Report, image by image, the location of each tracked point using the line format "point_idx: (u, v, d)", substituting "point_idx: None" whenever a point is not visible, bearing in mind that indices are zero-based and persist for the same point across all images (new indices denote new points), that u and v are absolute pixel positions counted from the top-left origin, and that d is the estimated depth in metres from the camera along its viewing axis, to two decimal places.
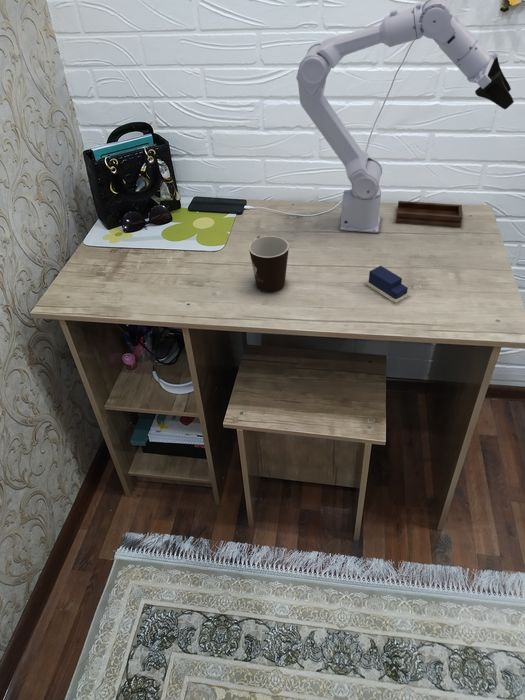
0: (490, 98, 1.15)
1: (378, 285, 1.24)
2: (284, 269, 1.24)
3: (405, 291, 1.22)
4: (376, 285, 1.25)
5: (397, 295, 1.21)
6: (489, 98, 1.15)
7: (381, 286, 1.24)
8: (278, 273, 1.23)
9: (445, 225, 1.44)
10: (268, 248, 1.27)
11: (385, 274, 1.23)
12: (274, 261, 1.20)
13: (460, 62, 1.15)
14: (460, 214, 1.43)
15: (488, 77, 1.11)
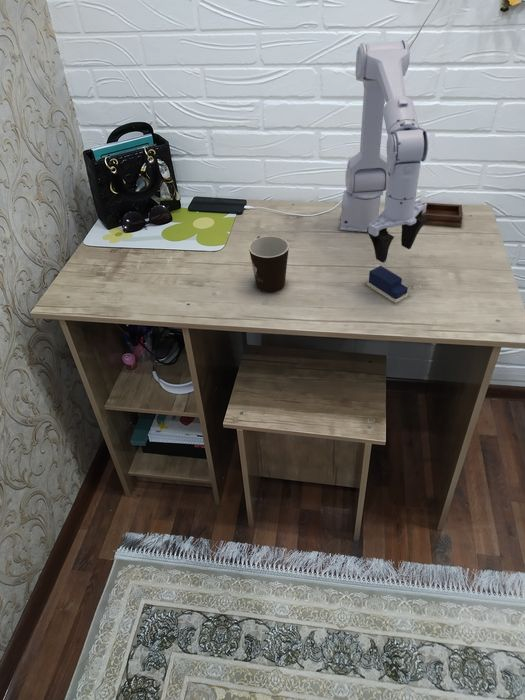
0: (372, 241, 1.15)
1: (378, 285, 1.24)
2: (284, 269, 1.24)
3: (405, 291, 1.22)
4: (376, 285, 1.25)
5: (397, 295, 1.21)
6: (372, 241, 1.15)
7: (381, 286, 1.24)
8: (278, 273, 1.23)
9: (445, 225, 1.44)
10: (268, 248, 1.27)
11: (385, 274, 1.23)
12: (274, 261, 1.20)
13: (386, 196, 1.10)
14: (460, 214, 1.43)
15: (378, 231, 1.10)
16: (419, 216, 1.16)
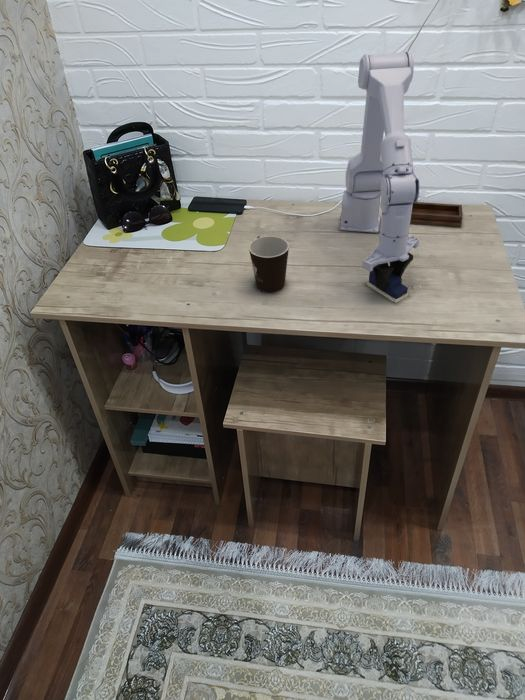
0: (373, 272, 1.21)
1: None
2: (284, 269, 1.24)
3: (405, 291, 1.22)
4: (376, 285, 1.25)
5: (397, 295, 1.21)
6: (373, 271, 1.21)
7: None
8: (278, 273, 1.23)
9: (445, 225, 1.44)
10: (268, 248, 1.27)
11: None
12: (274, 261, 1.20)
13: (380, 233, 1.15)
14: (460, 214, 1.43)
15: (372, 267, 1.16)
16: None
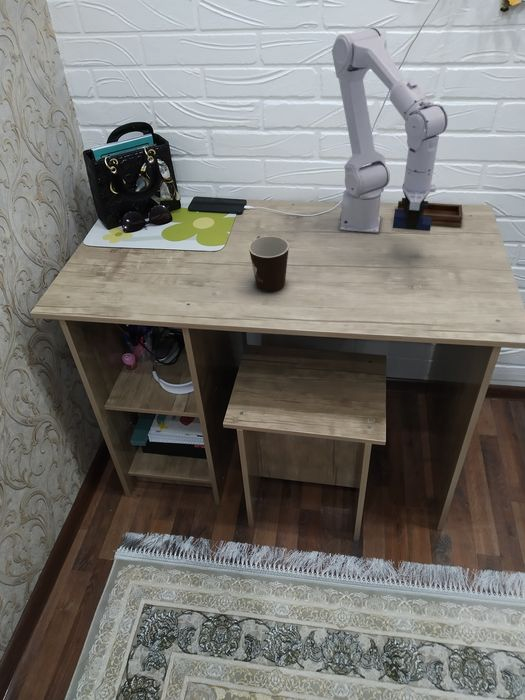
0: (406, 213, 1.25)
1: None
2: (284, 269, 1.24)
3: None
4: (403, 227, 1.29)
5: (430, 226, 1.28)
6: (405, 212, 1.25)
7: None
8: (278, 273, 1.23)
9: (445, 225, 1.44)
10: (268, 248, 1.27)
11: None
12: (274, 261, 1.20)
13: (411, 173, 1.19)
14: (460, 214, 1.43)
15: (419, 205, 1.19)
16: None
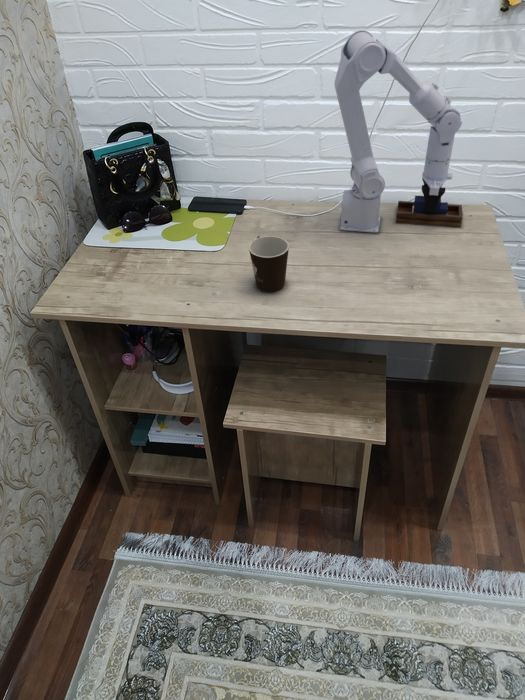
0: (425, 198, 1.41)
1: None
2: (284, 269, 1.24)
3: None
4: (423, 211, 1.45)
5: (447, 210, 1.44)
6: (425, 198, 1.41)
7: None
8: (278, 273, 1.23)
9: (445, 225, 1.44)
10: (268, 248, 1.27)
11: None
12: (274, 261, 1.20)
13: (431, 162, 1.35)
14: (460, 214, 1.43)
15: None
16: None
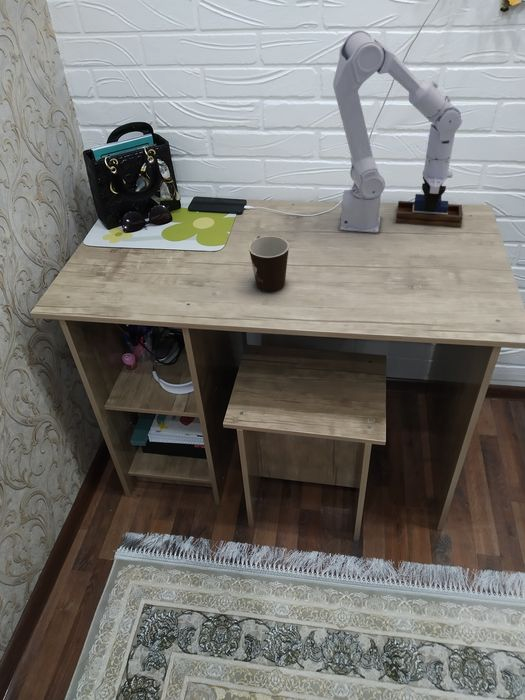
0: (426, 197, 1.41)
1: None
2: (284, 269, 1.24)
3: (447, 204, 1.45)
4: (423, 209, 1.45)
5: (447, 209, 1.43)
6: (425, 196, 1.41)
7: None
8: (278, 273, 1.23)
9: (445, 225, 1.44)
10: (268, 248, 1.27)
11: None
12: (274, 261, 1.20)
13: (431, 160, 1.35)
14: (460, 214, 1.43)
15: (438, 189, 1.35)
16: None
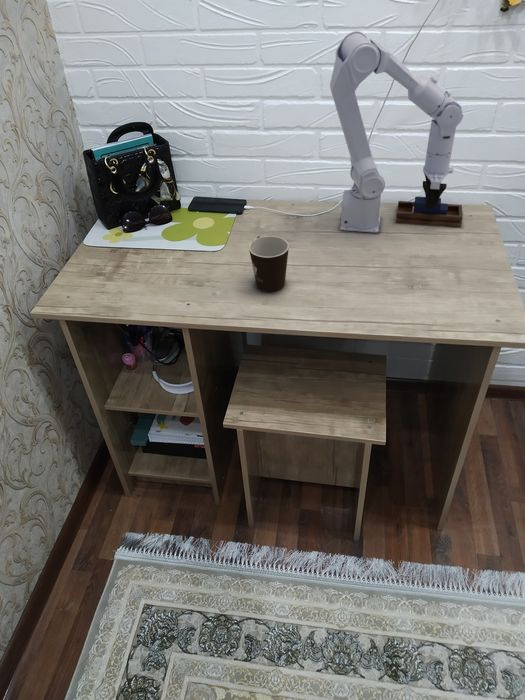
0: (426, 195, 1.39)
1: (425, 211, 1.45)
2: (284, 269, 1.24)
3: None
4: (423, 212, 1.45)
5: (447, 211, 1.44)
6: (426, 194, 1.39)
7: (429, 210, 1.44)
8: (278, 273, 1.23)
9: (445, 225, 1.44)
10: (268, 248, 1.27)
11: None
12: (274, 261, 1.20)
13: (432, 156, 1.34)
14: (460, 214, 1.43)
15: (439, 184, 1.34)
16: None
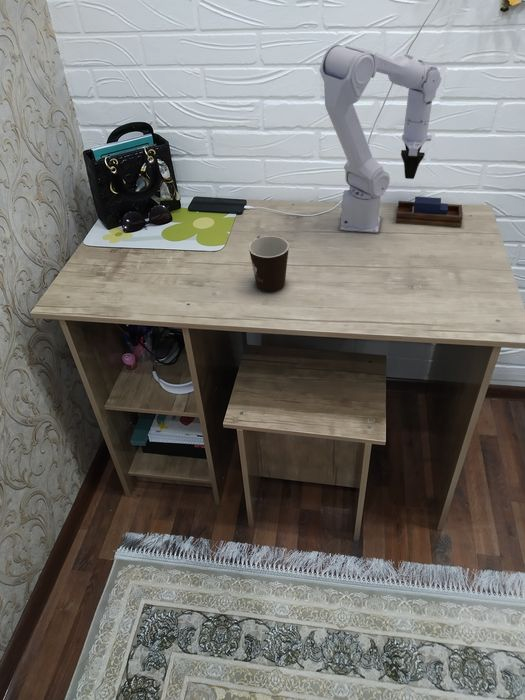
0: (405, 164, 1.41)
1: (425, 211, 1.45)
2: (284, 269, 1.24)
3: None
4: (423, 212, 1.45)
5: (447, 211, 1.44)
6: (404, 163, 1.40)
7: (429, 210, 1.44)
8: (278, 273, 1.23)
9: (445, 225, 1.44)
10: (268, 248, 1.27)
11: (427, 200, 1.44)
12: (274, 261, 1.20)
13: (410, 123, 1.36)
14: (460, 214, 1.43)
15: (417, 151, 1.36)
16: None
